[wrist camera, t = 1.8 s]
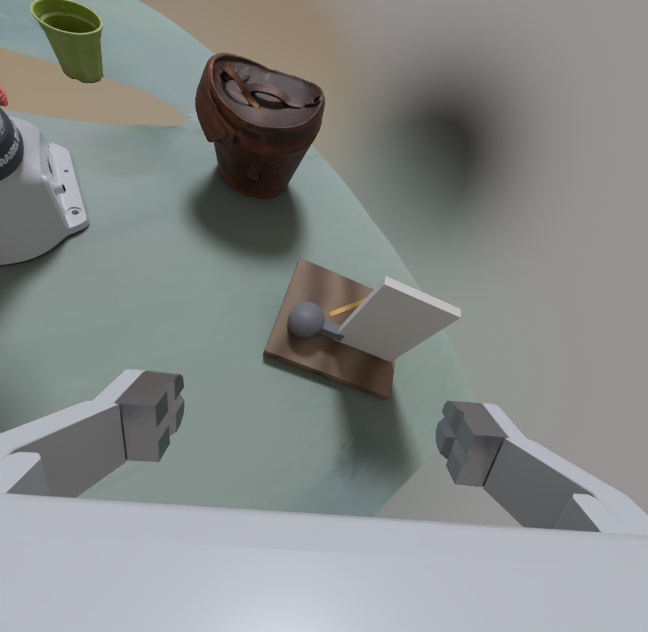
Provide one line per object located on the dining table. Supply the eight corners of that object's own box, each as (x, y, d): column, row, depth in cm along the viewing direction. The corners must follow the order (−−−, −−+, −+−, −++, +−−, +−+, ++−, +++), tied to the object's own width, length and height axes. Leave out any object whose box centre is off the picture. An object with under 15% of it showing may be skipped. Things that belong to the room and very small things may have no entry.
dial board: (263, 354, 46) (265, 350, 44) (297, 262, 55) (300, 257, 54) (385, 399, 49) (390, 396, 48) (398, 306, 59) (403, 301, 57)
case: (179, 144, 58) (174, 28, 43) (274, 137, 68) (297, 41, 53) (221, 219, 54) (232, 120, 39) (315, 200, 64) (352, 116, 49)
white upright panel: (283, 331, 46) (318, 270, 33) (293, 304, 49) (328, 236, 35) (389, 372, 49) (460, 331, 36) (393, 344, 52) (460, 296, 38)
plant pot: (125, 86, 60) (114, 31, 53) (71, 93, 55) (51, 34, 48) (95, 54, 61) (81, -3, 54) (39, 59, 56) (16, -3, 49)
